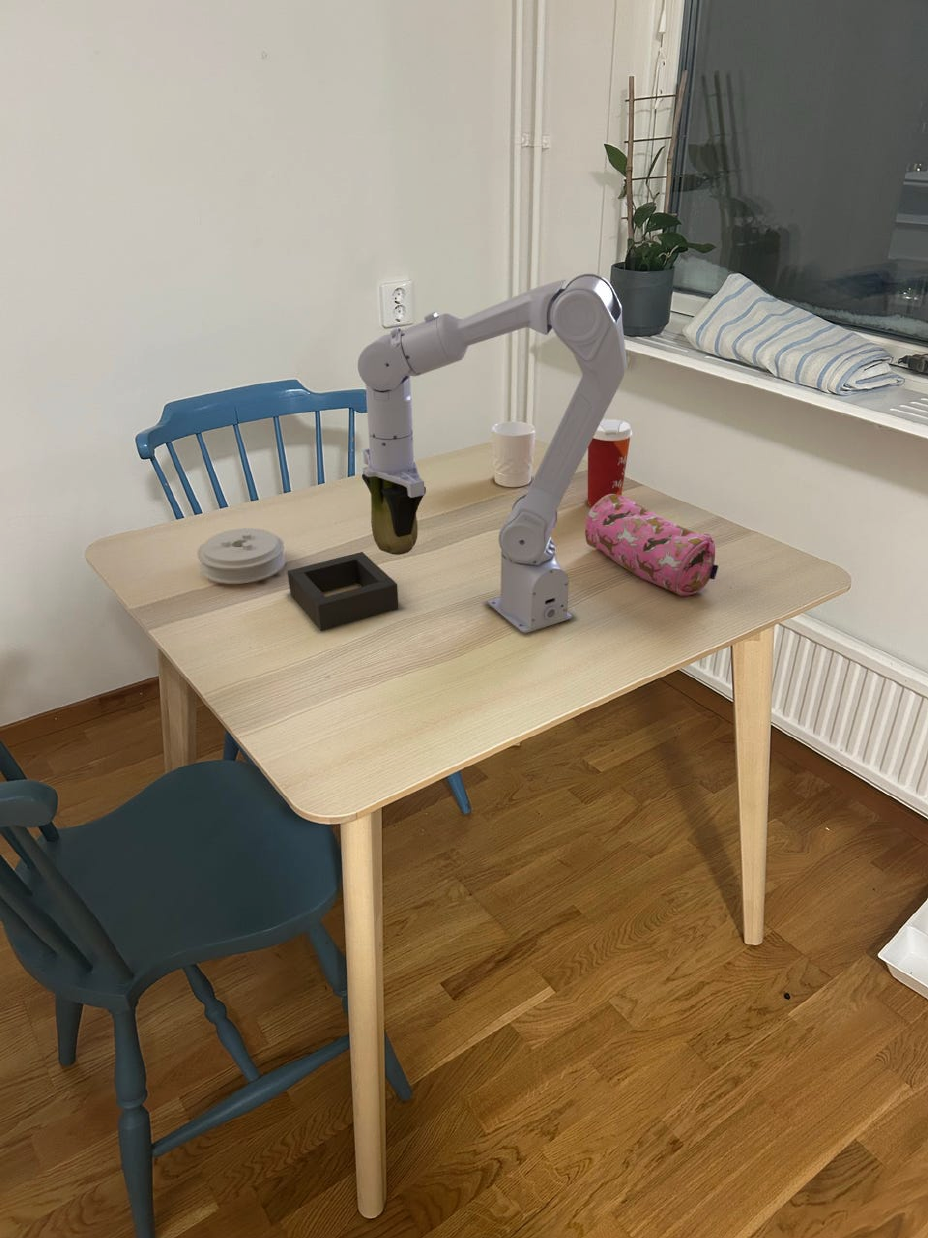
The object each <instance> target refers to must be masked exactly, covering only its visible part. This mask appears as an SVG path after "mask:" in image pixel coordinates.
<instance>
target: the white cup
mask: <svg viewBox="0 0 928 1238" xmlns="http://www.w3.org/2000/svg"><path fill="white" fill-rule="evenodd" d="M535 441H536V427H535V426H534V425H533V424H532V423H528V422H524V421H502V422H498V423H495V424H494V425H492V426H491V444H492V445H491V451H492V452H491V453H492V464H493V465H492V467H493V477H494V478H493V479H494V482H495V483H496V484H497V485H499V486H501V487H506V488H520V487H524V486H527V485H528V484H530V482H532V470H533V465H534V455H535V444H536V443H535Z"/></svg>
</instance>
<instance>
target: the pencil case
mask: <svg viewBox="0 0 928 1238" xmlns="http://www.w3.org/2000/svg"><path fill="white" fill-rule="evenodd" d="M584 535H585V536H584V537H585V542H586V544H587V545H588V546H589V547H591V548H593V549H596V550H599V551H601V552H603V553H604V554H605V555H606V556H608V558H610V559H611V560H612V561H613V562H615V563H616V564H617V565H619V566H620V567H622V568H625V570H627V571H629V572H631V573H633V575H635V576H637V577H638V578H640V579H643V580H645V581H647V582H650V583H651V584H653V585H657V586H659V587H662V588H663V589H665V590H667V591H670V592H672V593H674V594H676V595H677V596H682V597H683V596H684V597H687V596H691V595H695V594H697V593H699V592H701V591H702V589H704V588H705V587H706V586H707V584H708V582H709V581H710V580H715V579H716V578H717V577H716V576H717V573H718V569H719V565H717V564H715V561H716V560H715V559H716V545H715V541H714V540H713V538H712V536H711V534H709V533H703V534H698V533H696V532H694V531H693V530H690V529H688V528H686V527H683V526H680V525H678V524H676V523H674V522H672V521H669V520H668V519H666V518H663V517H661V516H659V515H657V514H656V513H653V512H652V511H650V510H648V509H646V508H645V507H642V505H640V504H639V503H637V502H636V501H633V499H629V498H627V497H626V496H623V495H621V496H619V495H617V494H609V495H606V496H605V497H603V498H601V499H600V500H599V501H598V502H597V503H596V504H595V505H594V506H593V507H591V508H590V510H589V511H588V512H587V515H586V519H585V528H584Z"/></svg>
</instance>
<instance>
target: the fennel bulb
mask: <svg viewBox="0 0 928 1238" xmlns="http://www.w3.org/2000/svg"><path fill="white" fill-rule="evenodd" d="M369 480H370V489H371V493H370V508H371V512H370V515H371V518H370V520H371V521H370V523H371V531H372V536H373V540H374V543H375V544H376V546H377V548H378V549H379V550H380V551H381V552H385V553H387V554H390V555H393V556H394V555H395V556H401V555H405V554H408V553H409V552H410V551H411V550H413V548H414V547H415V545H416V543H417V540H418V534H419V533H418V529H419V527H418V518H417V514H416V515H415V519H414V524H413V528H412V532H411V534H410V535H406V536H401V537H397V536H396V535H395V532H394V528H393V523H392V517H391V512H390V508H389V506H388V503H387V501H386V499H385V497H384V495H383V498H382V499H381V491H380V483H379V477H376V476H373V477H369ZM390 487H393V482H391V481H388V480H385V479H383V489H386V488H390ZM394 487H396V483H394Z"/></svg>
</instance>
